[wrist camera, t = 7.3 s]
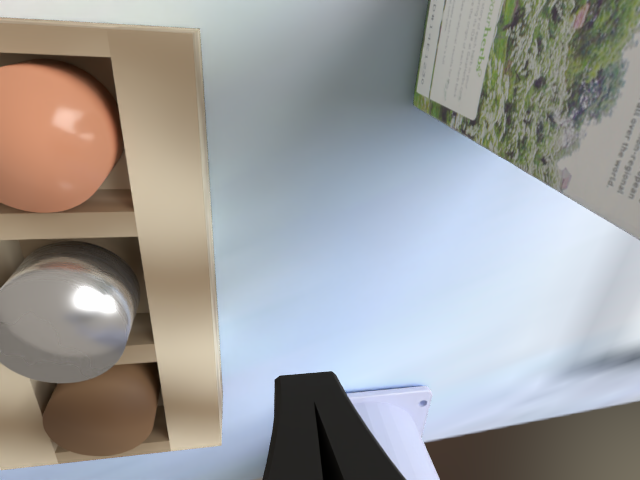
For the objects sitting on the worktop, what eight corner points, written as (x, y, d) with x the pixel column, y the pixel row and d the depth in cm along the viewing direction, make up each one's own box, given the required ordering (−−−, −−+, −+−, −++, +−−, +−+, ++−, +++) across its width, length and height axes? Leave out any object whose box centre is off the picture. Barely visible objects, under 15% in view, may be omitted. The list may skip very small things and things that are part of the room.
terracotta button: (133, 183, 15) (117, 211, 13) (7, 184, 15) (-31, 213, 12) (115, 61, 13) (94, 71, 11) (-30, 55, 13) (-82, 65, 11)
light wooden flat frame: (222, 394, 22) (221, 445, 20) (30, 411, 21) (1, 470, 18) (200, 28, 14) (192, 33, 12) (-114, 10, 13) (-202, 11, 10)
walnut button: (166, 404, 20) (159, 450, 18) (74, 413, 20) (55, 461, 18) (157, 338, 19) (147, 380, 16) (54, 345, 18) (30, 390, 16)
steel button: (147, 331, 17) (134, 377, 15) (31, 338, 16) (1, 388, 14) (132, 239, 15) (115, 277, 13) (1, 242, 14) (-39, 283, 12)
